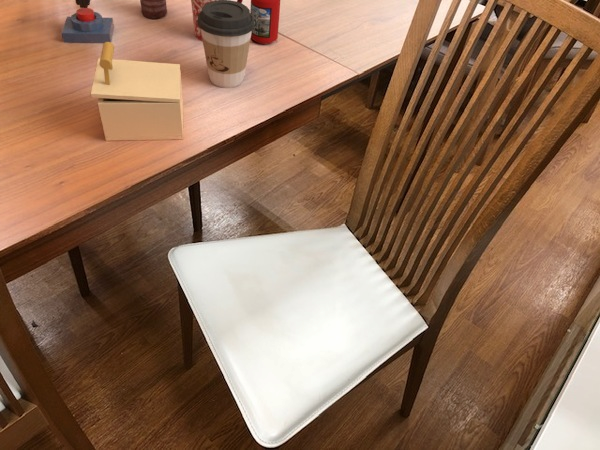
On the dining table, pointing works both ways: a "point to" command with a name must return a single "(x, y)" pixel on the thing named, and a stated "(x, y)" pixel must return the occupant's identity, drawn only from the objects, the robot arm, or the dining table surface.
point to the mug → (197, 3)
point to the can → (154, 8)
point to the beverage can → (265, 20)
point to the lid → (135, 79)
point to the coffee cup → (226, 40)
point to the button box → (88, 30)
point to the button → (85, 14)
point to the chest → (141, 119)
